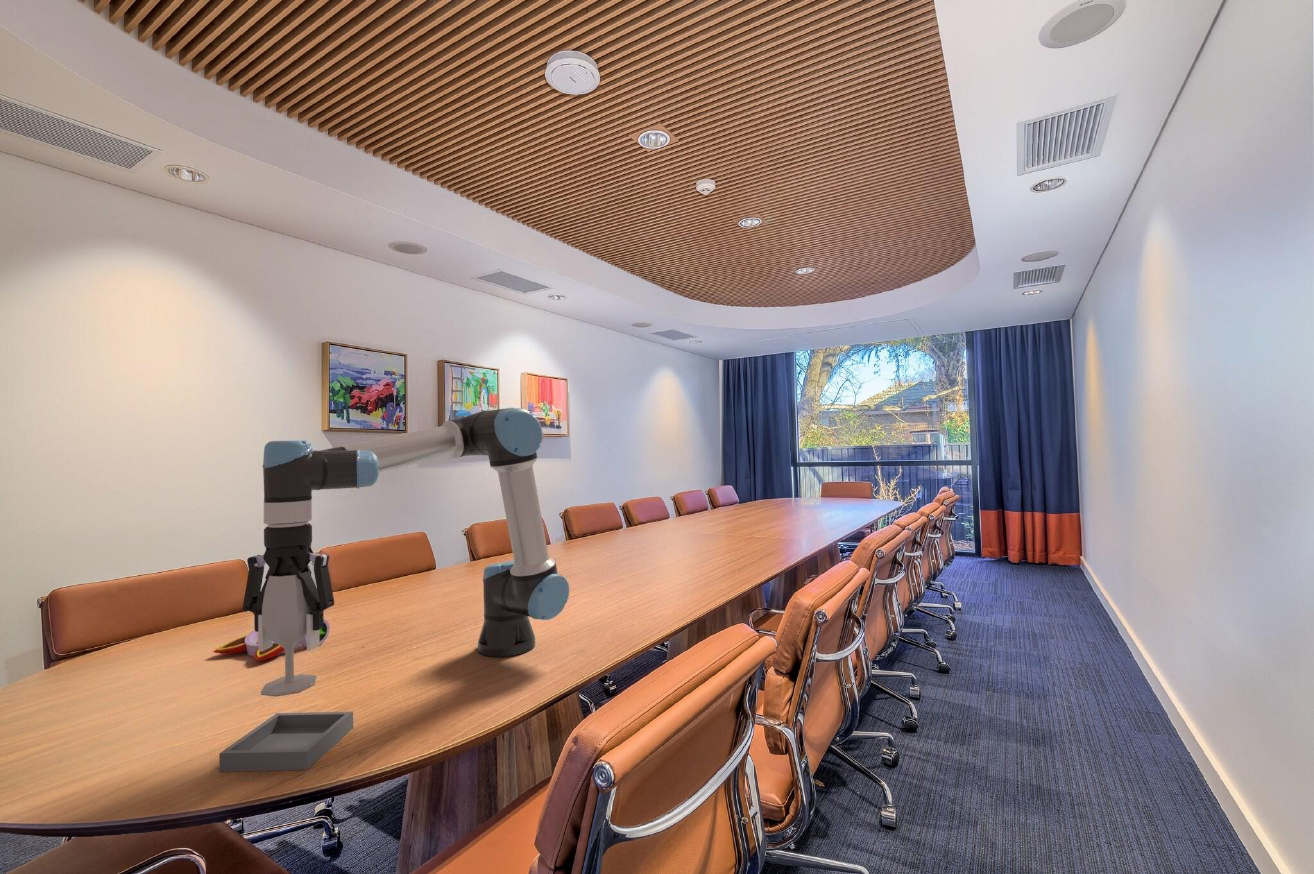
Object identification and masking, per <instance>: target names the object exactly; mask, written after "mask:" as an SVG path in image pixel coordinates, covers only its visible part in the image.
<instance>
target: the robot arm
mask: <svg viewBox="0 0 1314 874" xmlns="http://www.w3.org/2000/svg"><path fill="white" fill-rule="evenodd" d="M542 442H543V428H542V425H541V423H540V421H539V420H538V418H537V417H536V415H534V413H532V412H531V411H529V410H528V409H524V408H520V407H519V408H518V407H516V408H515V407H507V408H499V409H489V410H483V411H482V410H481V411H478V412H475V413H473V414H468V415H465V416H463V417H458V418H454V419H451V420H446V421H444V422H443V423H442V425H441V426H436V427H430V428H426V429H421V430H415V431H410V432H405V433H401V434H396V435H391V436H385V437H381V438H380V437H379V438H376V439H371V440H370V439H369V440H365V441H361V442H355V443H352V444H346V445H341V446H337V447H336V446H335V447H332V448H326V449H321V450H318V449H317V450H313V448H312V443H311V442H310V441H308V440H271V441H268V442H267V443H266V444H265V445H264V448H263V449H264V450H263V461H262V471H263V496H264V497H263V524H264V525H267V526H266V527H264V529H263V545H264V547H265V551H264V553H263V554H257V555H253V556H249V557H248V558H247V561H246V562H247V566H248V574H247V579H246V580H247V581H246V586H245V590H244V592H245V593H244V598H243V602H242V610H243V611H244V612H251V613H252V614H253V615H254V616H253V617H254V622H253V623H254V629H253V630H255V632H258V642H257V644H258V647H259V651H264V650H266V649H268V648H270V647H272V646H273V645H272V642H273V641H271V640H269V639H268V638H267V637H266V634H265V631H264V628H263V625H262V605H263V599H264V593H265V588H266V585H267V582H268V579H269V576H270V575H271V576H278V577H280V576H283V575H288V576H291V575H296V576H297V578H298V579H300V581H301V584H302V589H303V595H304V597H305V599H306V602H307V604H308V606H309V608H310V611H311V612H309V613H308V614H306V627H307V647H306V651H312V650H314V649H316V648H318V647H319V646H320V645H319V630H320V629H322V628H323V625H324V619H325V618H324V612H325V611H326V610H328V609H329V608H332V607H333V606H334V605H335V598H334V593H333V587H332V582H331V577H330V572H329V560H330V555H329V554H328V553H323V554H321V553H320V554H318V553H314V551H313V549H312V543H313V525H312V524H311V523H309V522H311V521H312V519H313V518H312V515H313V513H312V511H313V510H312V509H313V507H312V504H313V502H312V501H313V495H312V492H313V491H321V490H340V489H354V488H355V489H360V488H366V487H371V486H373V485H374V484H376V482H377V480H378V478H379V474H380V473H382V472H386V471H390V470H394V469H399V468H402V467H403V468H404V467H407V466H412V465H415V464H419V463H424V462H428V461H432V460H433V461H434V460H437V459H440V458H445V457H451V458H453V459H457V458H461V457H468V456H469V457H470V456H488V462H489V466H490V468H491V469H493V470H494V471H496V472H497V474H498V479H499V485H500V491H501V496H502V502H503V503H502V504H503V507H504V512H505V518H506V523H507V528H508V534H509V539H510V545H511V550H512V551H511V552H512V556H513V560H509V561H501V562H496V563H492V564H488V565H487V566H485V567H484V569H483V575H482V582H483V583H482V584H483V620H484V621H483V624H482V628H481V630H480V632H479V633H480V634H479V637H478V641H477V652H478V653H479V654H480V655H483V656H486V657H493V658H494V657H496V658H497V657H498V658H504V657H512V656H516V655H521V654H524V653H527V652H529V651H531V650H532V649H533V648H535V646H536V636H535V632H534V629H533V626H532V624H531V621H530V618H531V619H533V620H542V621H550V620H552V619H554V618H556V617H557V616H558V615H560V614H561V612H562V611H563V610H564V609H565V606H566V604H567V603H568V600H569V598H570V597H569V596H570V586H569V581H568V579H566V577H564V576H563V575H562V574H561V573H558V567H557V563H556V560H555V559H554V558H552V557H551V556H549V551H548V545H547V540H546V533H545V529H544V523H543V518H542V511H541V506H540V501H539V495H538V488H537V484H536V479H535V473H534V467H533V466H534V464H535V462H536V461H537V460H538V455H537V451H538V450H539V448H540V447H541V444H542ZM310 562H311V566H312V567H313V573H314V578H313V577H312V574H313V573H312V570H311V568H310V566H309V564H310ZM266 565H267V566H268V570H267V571H266V575H265V581H264V583H263V578H264V573H265V566H266ZM302 572H303V573H302ZM304 572H305V573H304ZM314 579H315V581H314ZM262 585H263V586H262ZM323 618H324V619H323Z"/></svg>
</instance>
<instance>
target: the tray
mask: <svg viewBox="0 0 1314 874" xmlns="http://www.w3.org/2000/svg"><path fill="white" fill-rule="evenodd" d="M353 728H354V711H321V712H320V711H319V712H313V711H312V712H277V713H275V714H274V715H272V716H270V717H269V718H268V719H266V720H264V721H262V722H261V724H259V725H258V726H256V727H255V728H254V729H252V730H250V731H249V732H248V733H247V734H244V735H243V736H242V737H241V738H239V739H237V741H235V742H234V743H232V744H230V745H229V746H227V747H226V748H225V749H223V750H222V751H220V752H219V755H218V756H219V758H218V759H219V760H218V761H219V772H262V771H263V772H265V771H267V772H269V771H272V772H273V771H275V772H276V771H307V770H309V769H310V768H311V767H312V766H314V764H316V763H317V762H318V761H319V760H320V759H321V758H322V757H323V756H324V755H326V753H327V752H329V750H331V749H332V748H333V747H334V746H335V745H336V744H338V742H340V740H341V739H342V738H344V737H345V736H346V735H347V734H348V733H350V731H351V730H352V729H353Z"/></svg>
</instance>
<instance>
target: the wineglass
mask: <svg viewBox="0 0 1314 874" xmlns="http://www.w3.org/2000/svg"><path fill="white" fill-rule="evenodd" d="M302 573H303V572H302ZM304 573H305V572H304ZM309 612H311V611H310V608H309V606H308V604H307V602H306V599H305V597H304V595H303V589H302V584H301V581H300V579H298V578H297V576H296V575H291V576H288V575H283V576H280V577H278V576H271V575H270V576H269V579H268V582H267V585H266V588H265V593H264V599H263V605H262V625H263V628H264V631H265V634H266V637H267V638H268V639H269V640H271V641H272V642H275V643H276V644H278V645H280V646H282V647H283V648H285V653H284V665H285V666H284V667H285V668H284V669H285V670H284V676H281V677H279V678H276V679H275V680H272V681H269V682H267V683H265V684H264V685H263V687H262V689H261V691H260V695H261V696H266V697H282V696H283V697H284V696H287V695H288V696H289V695H295V694H299V693H301V692H303V691H306V690H308V689H310V688H312V687H314V686H315V683H316V681H317V678H318V676H317V675H314V674H304V673H303V674H302V673H300V674H295V665H294V664H295V663H294V657H295V656H294V655H295V654H294V653H295V652H294V651H295V649H294V646H295V645H296V644H297V643H298V642H299V641H300V640H301V639H302V638H303V637H304V636H305V635H306V634H307V627H306V614H308V613H309Z"/></svg>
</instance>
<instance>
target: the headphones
mask: <svg viewBox="0 0 1314 874" xmlns="http://www.w3.org/2000/svg"><path fill="white" fill-rule="evenodd" d="M323 619H324V625H323V628H322V629H320V630H319V646H320V645H322V644H323V643H324V642H325V641H326V640H327V639H328V637H329V634H330V624H329V622H328V620H326V619H325V618H324V617H323ZM272 645H273V646H272V647H270V648H268V649H266V650H264V651H259V647H258V632H255V629H253V630H252V631H251V632H249V633H248V634H246V635H243V636H241V637H238V638H236V639H233V640H231V641H229V642H226V643H225V644H223V645H221V646H219V647H218V648H216V649H214V651H212V652H213V653H215V654H220V655H221V654H223V655H225V654H226V655H227V654H228V655H229V654H237V653H243V652H247V655H248V656H251V657H254V659H255V660H256V661H264V660H268V659H271V658H273V657H276V656H278V655H280V654H285V648H283V647H282V646H280V645H278V644H276V643H275V642H273V641H272ZM301 646H302V647H304V648H307V634H306V635H305V636H304V637H303V638H302V639H301V640H300V641H299V642H298V643H297V644H296V645H295V646H294V650H295V649H297V648H300V647H301Z"/></svg>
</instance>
